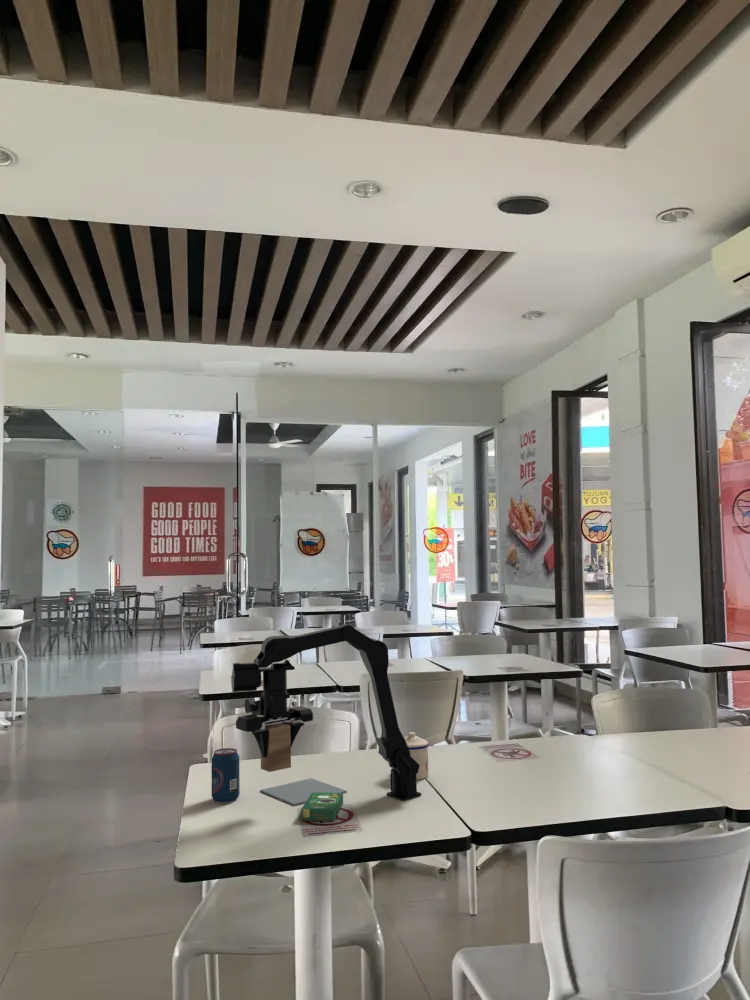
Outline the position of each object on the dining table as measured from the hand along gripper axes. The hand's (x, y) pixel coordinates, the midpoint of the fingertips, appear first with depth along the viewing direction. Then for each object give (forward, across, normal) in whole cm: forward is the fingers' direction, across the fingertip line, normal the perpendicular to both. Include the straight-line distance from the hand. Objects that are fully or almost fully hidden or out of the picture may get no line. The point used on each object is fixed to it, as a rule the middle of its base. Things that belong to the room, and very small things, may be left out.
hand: (275, 755), depth 187 cm
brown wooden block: (+3, 0, 0) cm, 3 cm away
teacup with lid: (+13, -44, -1) cm, 46 cm away
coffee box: (+12, -12, +4) cm, 17 cm away
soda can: (+13, +5, -16) cm, 21 cm away
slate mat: (+13, -13, -8) cm, 20 cm away
